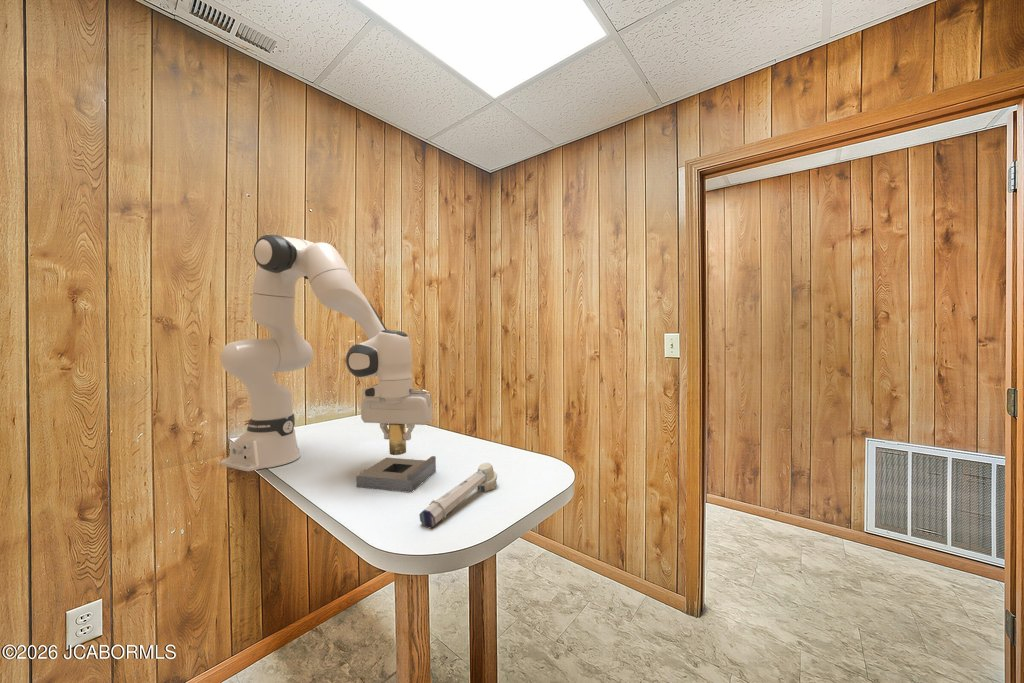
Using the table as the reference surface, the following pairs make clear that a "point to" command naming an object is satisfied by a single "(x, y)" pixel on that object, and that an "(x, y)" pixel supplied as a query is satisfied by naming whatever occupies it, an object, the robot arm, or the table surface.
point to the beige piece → (459, 495)
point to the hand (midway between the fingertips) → (397, 439)
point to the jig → (397, 474)
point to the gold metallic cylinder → (397, 439)
